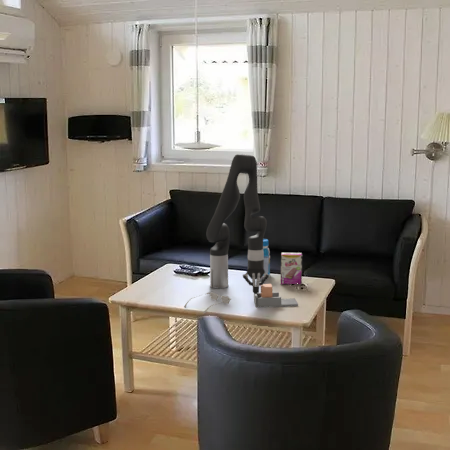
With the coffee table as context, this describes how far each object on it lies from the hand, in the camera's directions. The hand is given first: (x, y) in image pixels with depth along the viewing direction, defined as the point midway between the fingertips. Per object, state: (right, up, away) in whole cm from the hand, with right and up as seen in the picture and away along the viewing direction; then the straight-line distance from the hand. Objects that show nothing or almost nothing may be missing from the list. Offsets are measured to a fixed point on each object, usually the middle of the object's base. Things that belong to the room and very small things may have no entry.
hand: (255, 293), depth 320 cm
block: (+5, -4, +1) cm, 7 cm away
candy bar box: (+20, +1, +35) cm, 41 cm away
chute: (+10, -5, +2) cm, 11 cm away
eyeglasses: (-23, -7, +1) cm, 24 cm away
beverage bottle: (+6, +5, +52) cm, 52 cm away
